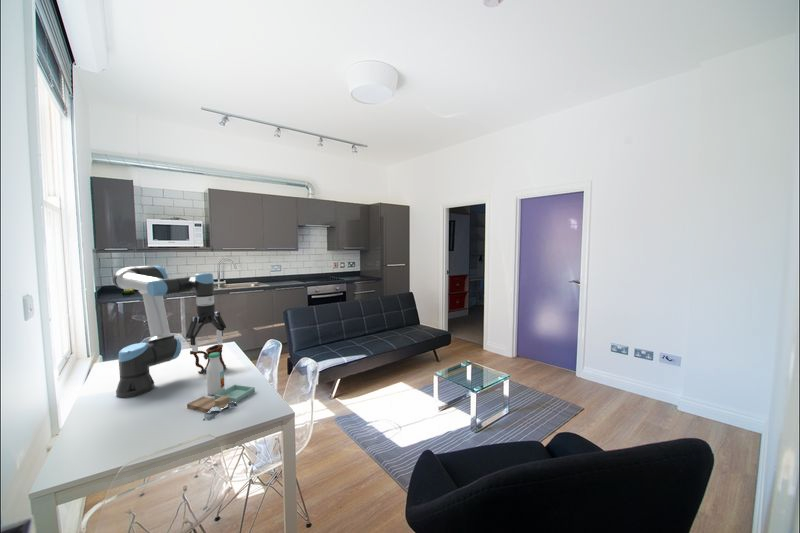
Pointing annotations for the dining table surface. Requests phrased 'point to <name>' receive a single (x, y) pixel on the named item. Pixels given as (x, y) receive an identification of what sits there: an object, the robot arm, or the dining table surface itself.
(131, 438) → the dining table surface
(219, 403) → the block
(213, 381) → the milk bottle
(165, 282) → the robot arm
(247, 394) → the tray
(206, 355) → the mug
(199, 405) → the tan wooden board
